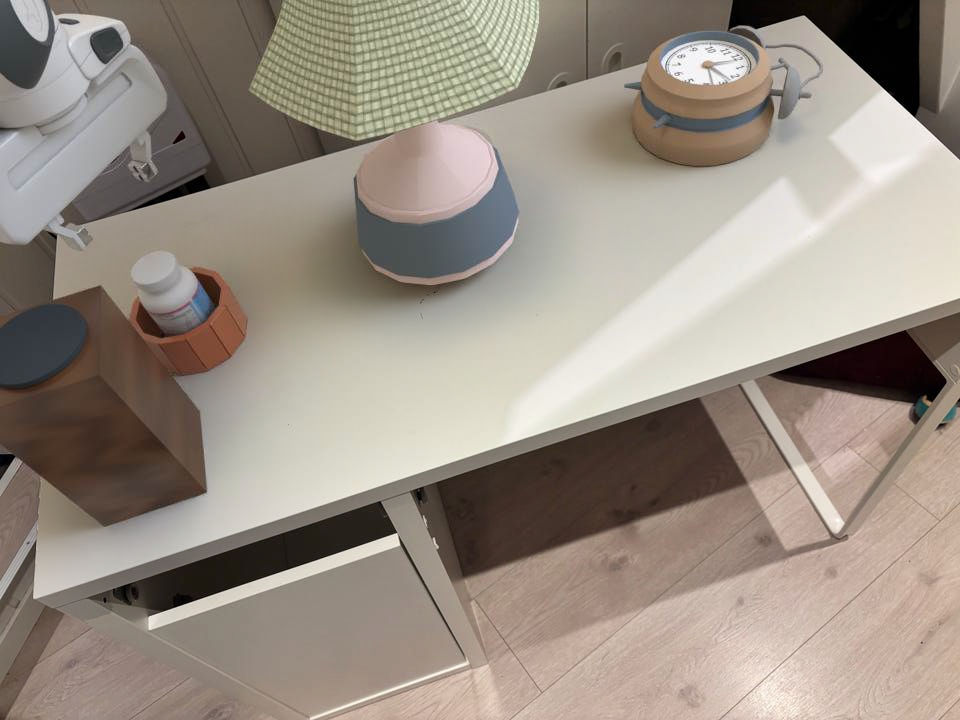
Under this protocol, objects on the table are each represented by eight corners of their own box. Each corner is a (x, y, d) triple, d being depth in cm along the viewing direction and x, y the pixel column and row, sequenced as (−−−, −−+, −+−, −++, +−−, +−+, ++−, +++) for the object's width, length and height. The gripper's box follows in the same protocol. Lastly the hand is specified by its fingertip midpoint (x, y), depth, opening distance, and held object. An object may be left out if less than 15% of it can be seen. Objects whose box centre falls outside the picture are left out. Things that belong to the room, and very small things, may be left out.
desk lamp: (305, 210, 94) (148, -170, 61) (512, 141, 97) (469, -256, 64) (353, 356, 79) (178, -46, 46) (597, 268, 82) (597, -167, 49)
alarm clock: (612, 40, 92) (786, -8, 93) (611, 105, 99) (772, 60, 101) (670, 116, 82) (864, 61, 83) (664, 182, 89) (842, 131, 90)
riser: (104, 527, 70) (-35, 417, 55) (105, 441, 76) (-20, 321, 61) (207, 492, 71) (99, 374, 56) (200, 410, 77) (100, 284, 62)
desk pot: (210, 384, 79) (187, 353, 75) (135, 360, 83) (109, 329, 78) (264, 312, 84) (246, 279, 80) (191, 291, 88) (170, 259, 84)
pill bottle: (195, 309, 86) (149, 239, 77) (237, 322, 84) (194, 252, 75) (163, 349, 83) (110, 280, 74) (205, 363, 81) (156, 295, 72)
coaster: (-20, 402, 56) (-25, 398, 55) (-9, 326, 60) (-14, 321, 60) (86, 369, 56) (82, 364, 56) (88, 296, 61) (84, 291, 61)
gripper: (-50, 167, 51) (64, 298, 62) (136, 11, 62) (206, 147, 73) (-109, 152, 54) (12, 282, 65) (81, 4, 64) (157, 137, 75)
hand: (116, 209), depth 69 cm, fingers open, 8 cm apart
